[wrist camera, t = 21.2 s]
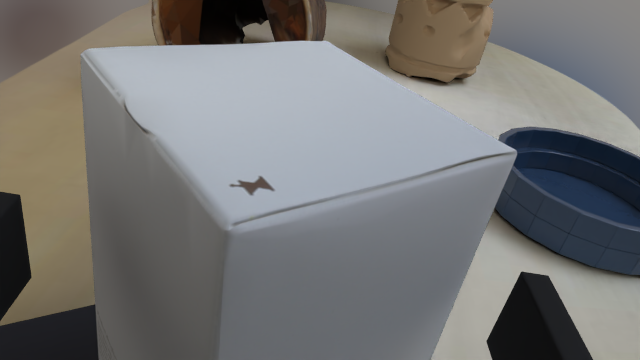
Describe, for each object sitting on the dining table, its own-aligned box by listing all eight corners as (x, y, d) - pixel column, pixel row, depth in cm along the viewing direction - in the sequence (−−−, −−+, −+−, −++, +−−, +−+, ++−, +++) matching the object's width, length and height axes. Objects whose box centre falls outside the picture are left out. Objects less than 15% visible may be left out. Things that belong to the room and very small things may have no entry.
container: (407, 84, 65) (452, -74, 56) (369, 49, 75) (402, -90, 66) (491, 89, 69) (545, -57, 60) (444, 55, 79) (485, -74, 70)
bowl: (716, 253, 43) (745, 214, 41) (601, 300, 35) (630, 254, 33) (558, 156, 54) (575, 121, 52) (443, 174, 46) (458, 134, 44)
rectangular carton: (393, 472, 21) (537, 151, 13) (181, 617, 16) (220, 233, 8) (277, 319, 27) (332, 34, 19) (95, 389, 22) (72, 40, 14)
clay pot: (345, -43, 65) (324, -67, 42) (334, 81, 70) (310, 121, 47) (228, -51, 66) (143, -80, 43) (226, 71, 71) (150, 105, 48)
